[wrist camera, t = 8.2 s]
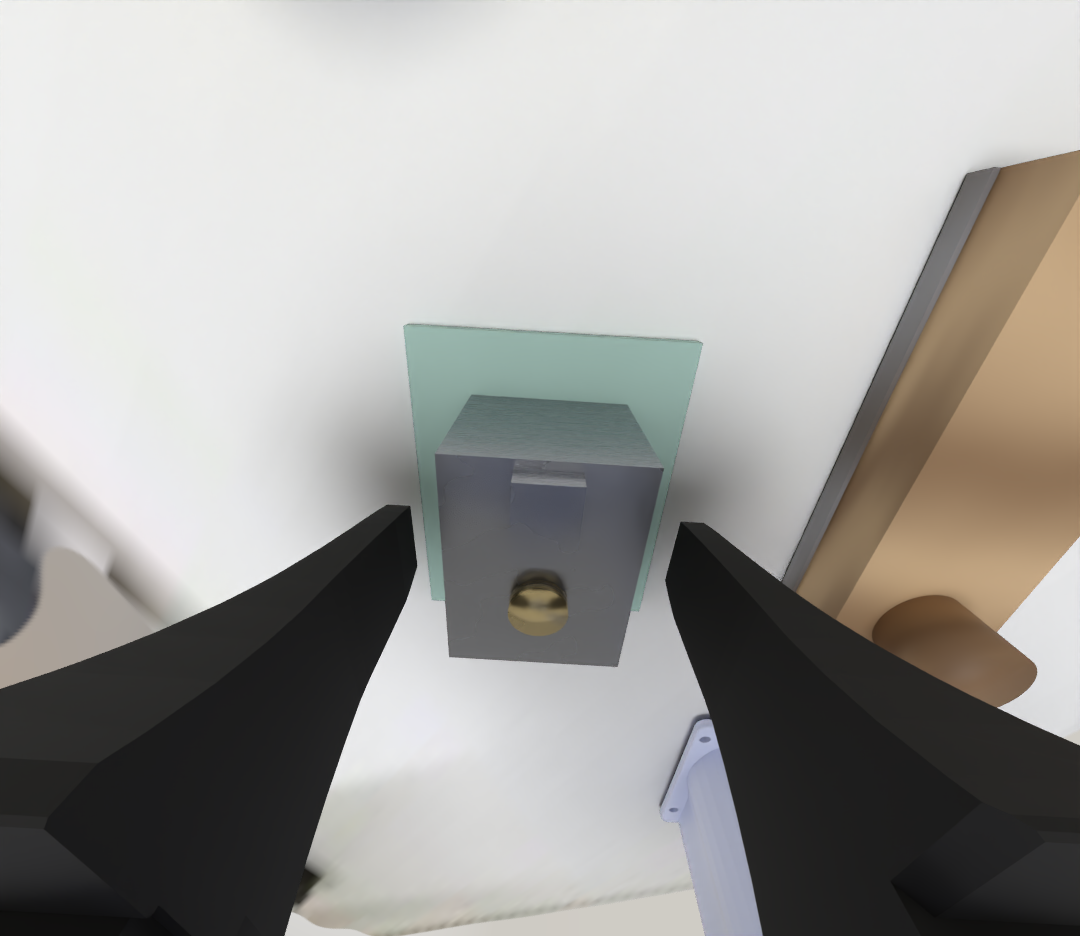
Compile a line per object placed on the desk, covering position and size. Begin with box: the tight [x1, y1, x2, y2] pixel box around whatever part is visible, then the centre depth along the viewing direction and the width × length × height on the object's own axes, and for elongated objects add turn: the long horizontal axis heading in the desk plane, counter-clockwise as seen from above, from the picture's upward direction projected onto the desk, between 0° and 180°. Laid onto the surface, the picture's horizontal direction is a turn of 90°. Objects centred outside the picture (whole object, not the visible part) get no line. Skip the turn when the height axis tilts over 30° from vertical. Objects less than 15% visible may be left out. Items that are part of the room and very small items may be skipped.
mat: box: [403, 324, 703, 611], centre depth 13 cm, size 10×8×1 cm
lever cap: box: [435, 394, 664, 667], centre depth 10 cm, size 6×4×5 cm
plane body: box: [782, 150, 1080, 708], centre depth 10 cm, size 14×6×4 cm, turn 177°
